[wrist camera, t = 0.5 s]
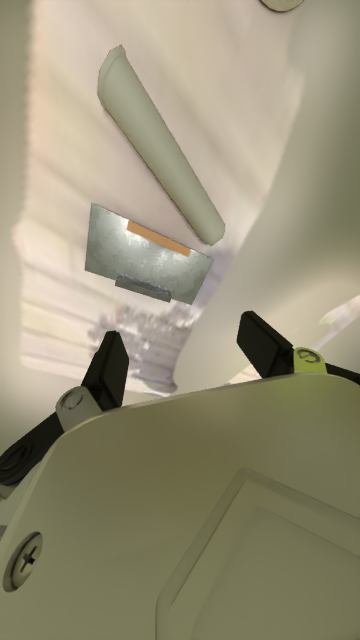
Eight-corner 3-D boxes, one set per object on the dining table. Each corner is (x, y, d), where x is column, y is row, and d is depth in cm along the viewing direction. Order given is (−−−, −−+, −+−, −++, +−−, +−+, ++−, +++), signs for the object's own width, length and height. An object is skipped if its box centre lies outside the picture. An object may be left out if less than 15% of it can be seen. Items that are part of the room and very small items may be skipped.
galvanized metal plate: (94, 203, 26) (84, 200, 22) (211, 258, 34) (218, 262, 31) (87, 268, 32) (78, 274, 28) (190, 302, 40) (194, 310, 36)
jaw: (130, 220, 27) (128, 220, 25) (188, 247, 31) (191, 249, 29) (128, 229, 28) (126, 230, 25) (185, 255, 32) (188, 257, 29)
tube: (235, 228, 28) (125, 31, 16) (217, 249, 28) (94, 68, 16) (218, 233, 33) (123, 84, 21) (203, 251, 33) (98, 113, 21)
